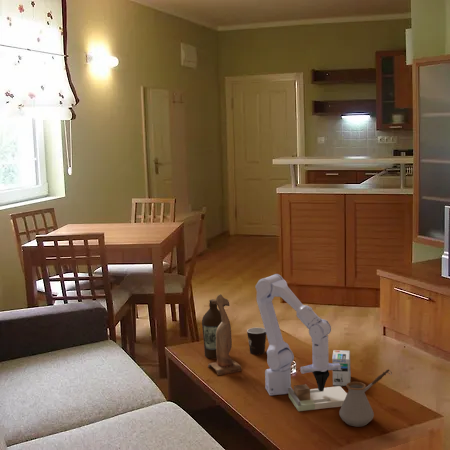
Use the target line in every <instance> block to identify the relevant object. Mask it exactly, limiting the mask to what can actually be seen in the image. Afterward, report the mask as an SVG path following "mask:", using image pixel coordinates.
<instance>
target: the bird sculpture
mask: <svg viewBox="0 0 450 450" xmlns="http://www.w3.org/2000/svg"><path fill="white" fill-rule="evenodd" d="M215 300H216V303H217V309H218V310H219V311H220V314H221V318H222V322H221V323H220V325H219V326H218V328H217V331H216V353H217V354H216V355H217V359H216V361H215V362H209V363H208V364H207V368H213V369H214V370H215V372H216V374H217V376H221V375H222V376H223V375H228V374H232V373H233V374H234V373H238V372H241V371H242V365H241V364H239V363H238V362H237V361H235V360H234V359H233V358H231V356H230V354H229V353H230V352H231V350H232V348H233V347H232V345H233V343H232V342H233V341H232V339H233V338H232V326H231V322H230V319H229V317H228V314H227V312H226V309H225V307H230V301H229V300H228V299H227V298H225V297H224V296H223V295H222V294H218V295H217V296H216V298H215Z"/></svg>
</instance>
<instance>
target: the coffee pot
mask: <svg viewBox="0 0 450 450" xmlns="http://www.w3.org/2000/svg"><path fill="white" fill-rule="evenodd" d="M386 374H389V375H393V373H392V371H391V370H390V369H389V368H388V369H386V370H385V371H383V372H382V373H381V374H380V375H378V376H377V377H376V378H375V379H374V380H372V382H371V383H369V384H368V385H366V384H365V383H363V382H361V381H350V383H348V384H347V385H346V386H345V387H346V388H347V390H348V392H346V393H347V395H346V398H345V400H344V402H343V405H342V406H340V409H339V411H338V413H339V417H340V419H341V420H342V421H343V422H345V424H347V425H348V426H350V427H351V426H352V427H357V428H358V427H365V426H366V425H367V424H369V423H370V422H371V421H372V420H373V419H374V416H375V413H374V410H373V408H372V406H371V404H370V402H369V399H368V398H367V395H366V392H367V391H368V390H369V389H370V388H371V387H372V386H373V385H375V384H376V383H378V382H379V381H380V380H382V379H383V377H384V376H386Z"/></svg>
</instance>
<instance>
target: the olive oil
mask: <svg viewBox="0 0 450 450" xmlns="http://www.w3.org/2000/svg"><path fill="white" fill-rule="evenodd" d="M208 305H209V308H208V310H207V311H206V312H205V314H203V316H202V319H201V325H202V326H201V327H202V329H201V330H202V335H203V337H202V338H203V348H204V351H203V352H204V356H205V358H208V359H210V360H211V359H212V360H215V359H216V360H217V355H216V354H217V353H216V331H217V328H218V326H219V325H220V323H221V322H222V318H221V314H220V311H219V308H218V305H217V303H216V298H215V299H209V303H208Z"/></svg>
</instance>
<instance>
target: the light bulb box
mask: <svg viewBox="0 0 450 450" xmlns="http://www.w3.org/2000/svg"><path fill="white" fill-rule="evenodd" d="M331 359H332V363H339V364H340V365H341V370H332V386H341V387H347V386H346V385H347V384H348V383H350V382H351V380H352V379H351V373H352V372H351V350H337V349H333V352H332V358H331Z"/></svg>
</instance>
